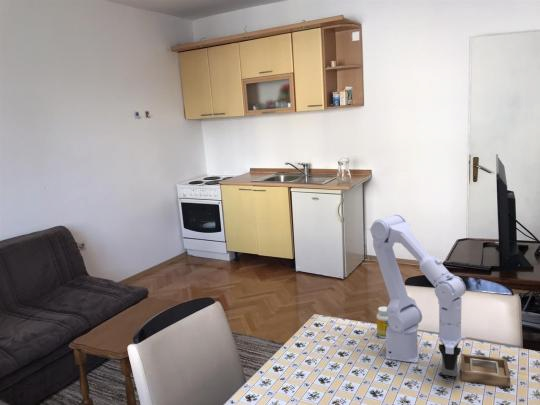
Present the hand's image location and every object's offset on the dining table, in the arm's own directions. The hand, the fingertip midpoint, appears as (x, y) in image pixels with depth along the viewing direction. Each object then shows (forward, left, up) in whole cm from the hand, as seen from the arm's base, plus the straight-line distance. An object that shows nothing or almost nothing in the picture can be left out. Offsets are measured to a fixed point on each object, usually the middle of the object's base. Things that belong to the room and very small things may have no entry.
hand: (449, 364), depth 127 cm
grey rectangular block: (0, 0, -2) cm, 2 cm away
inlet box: (+9, +3, -3) cm, 10 cm away
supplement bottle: (-21, +20, -4) cm, 29 cm away
